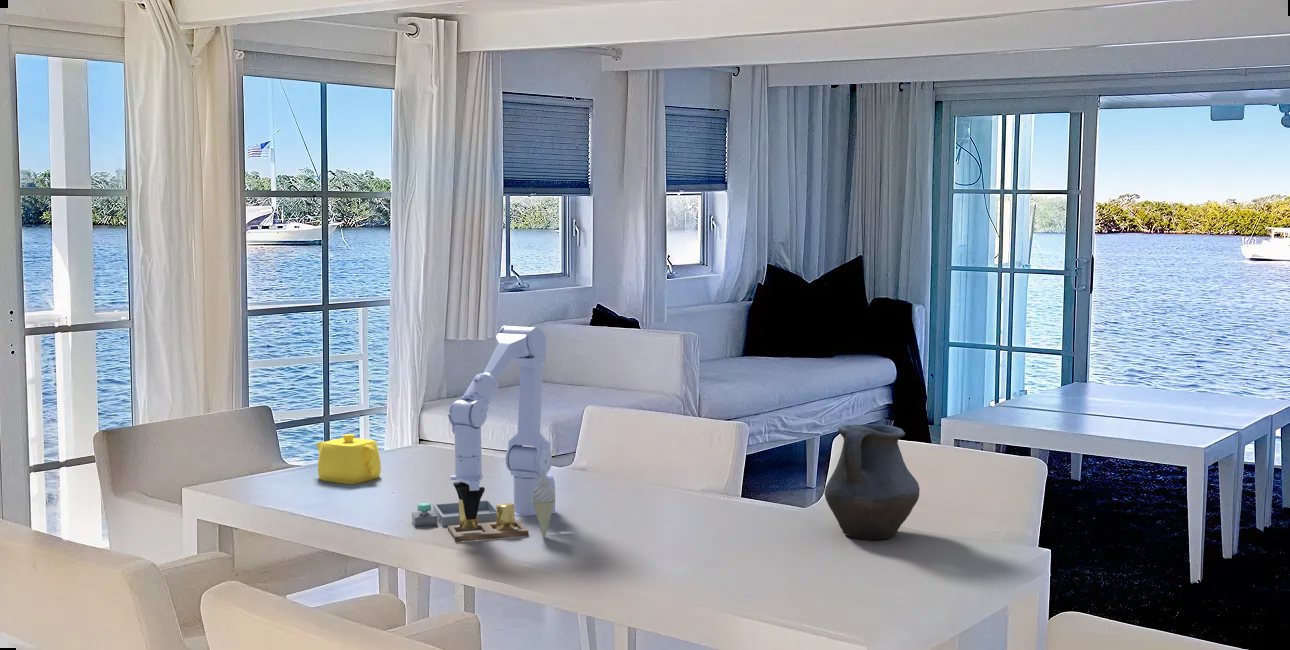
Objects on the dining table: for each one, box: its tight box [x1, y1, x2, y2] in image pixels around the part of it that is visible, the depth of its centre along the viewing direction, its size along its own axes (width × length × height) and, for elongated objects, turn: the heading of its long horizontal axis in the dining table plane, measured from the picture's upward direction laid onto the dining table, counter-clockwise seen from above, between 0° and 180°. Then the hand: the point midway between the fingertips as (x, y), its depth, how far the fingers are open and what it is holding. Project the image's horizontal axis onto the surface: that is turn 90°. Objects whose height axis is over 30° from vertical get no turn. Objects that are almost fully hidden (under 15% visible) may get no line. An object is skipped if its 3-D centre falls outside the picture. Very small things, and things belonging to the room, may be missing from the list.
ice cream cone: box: [532, 469, 556, 538], centre depth 280 cm, size 5×5×15 cm
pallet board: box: [447, 519, 530, 543], centre depth 284 cm, size 16×10×1 cm, turn 108°
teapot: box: [315, 433, 382, 485], centre depth 342 cm, size 20×12×12 cm, turn 59°
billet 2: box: [495, 502, 516, 531], centre depth 285 cm, size 4×4×6 cm
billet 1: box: [458, 498, 478, 529], centre depth 282 cm, size 4×4×6 cm
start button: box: [417, 502, 432, 516], centre depth 291 cm, size 3×3×4 cm
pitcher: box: [823, 423, 920, 542], centre depth 279 cm, size 21×22×25 cm
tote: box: [432, 499, 496, 527], centre depth 297 cm, size 13×13×2 cm
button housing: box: [411, 510, 439, 528], centre depth 291 cm, size 5×5×2 cm
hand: (469, 516), depth 282 cm, fingers closed on billet 1, 4 cm apart
